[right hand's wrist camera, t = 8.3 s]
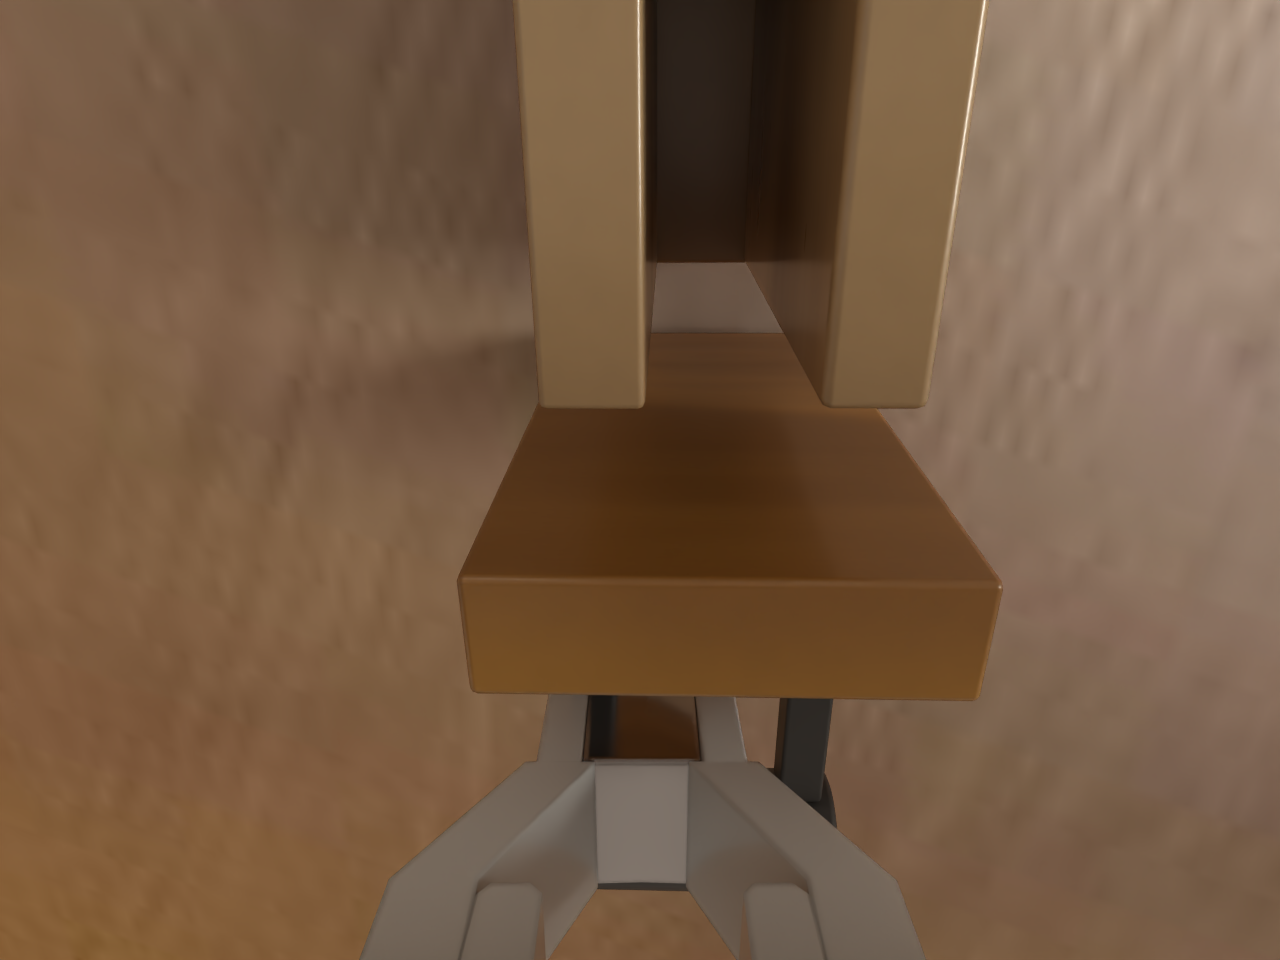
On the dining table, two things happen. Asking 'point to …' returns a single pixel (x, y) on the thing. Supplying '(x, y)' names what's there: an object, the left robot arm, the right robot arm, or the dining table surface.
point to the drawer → (735, 366)
